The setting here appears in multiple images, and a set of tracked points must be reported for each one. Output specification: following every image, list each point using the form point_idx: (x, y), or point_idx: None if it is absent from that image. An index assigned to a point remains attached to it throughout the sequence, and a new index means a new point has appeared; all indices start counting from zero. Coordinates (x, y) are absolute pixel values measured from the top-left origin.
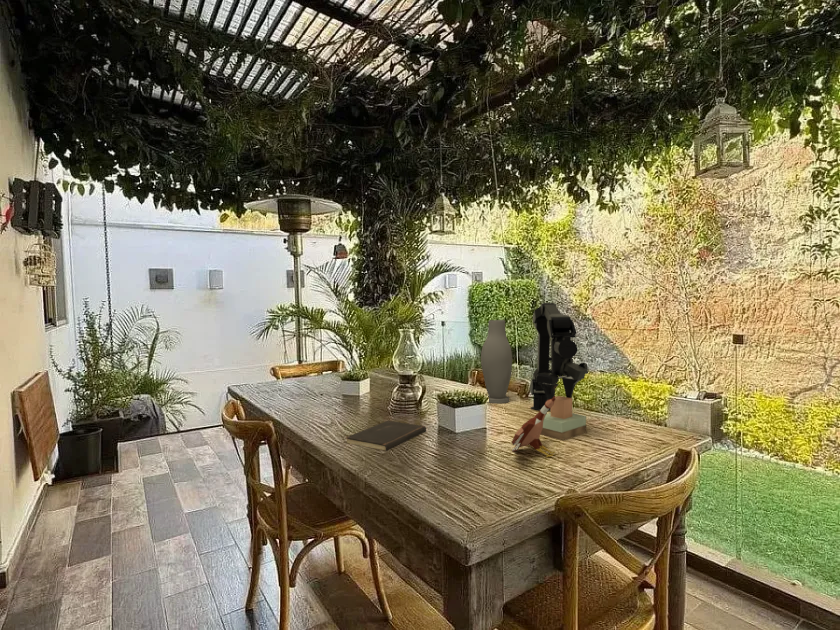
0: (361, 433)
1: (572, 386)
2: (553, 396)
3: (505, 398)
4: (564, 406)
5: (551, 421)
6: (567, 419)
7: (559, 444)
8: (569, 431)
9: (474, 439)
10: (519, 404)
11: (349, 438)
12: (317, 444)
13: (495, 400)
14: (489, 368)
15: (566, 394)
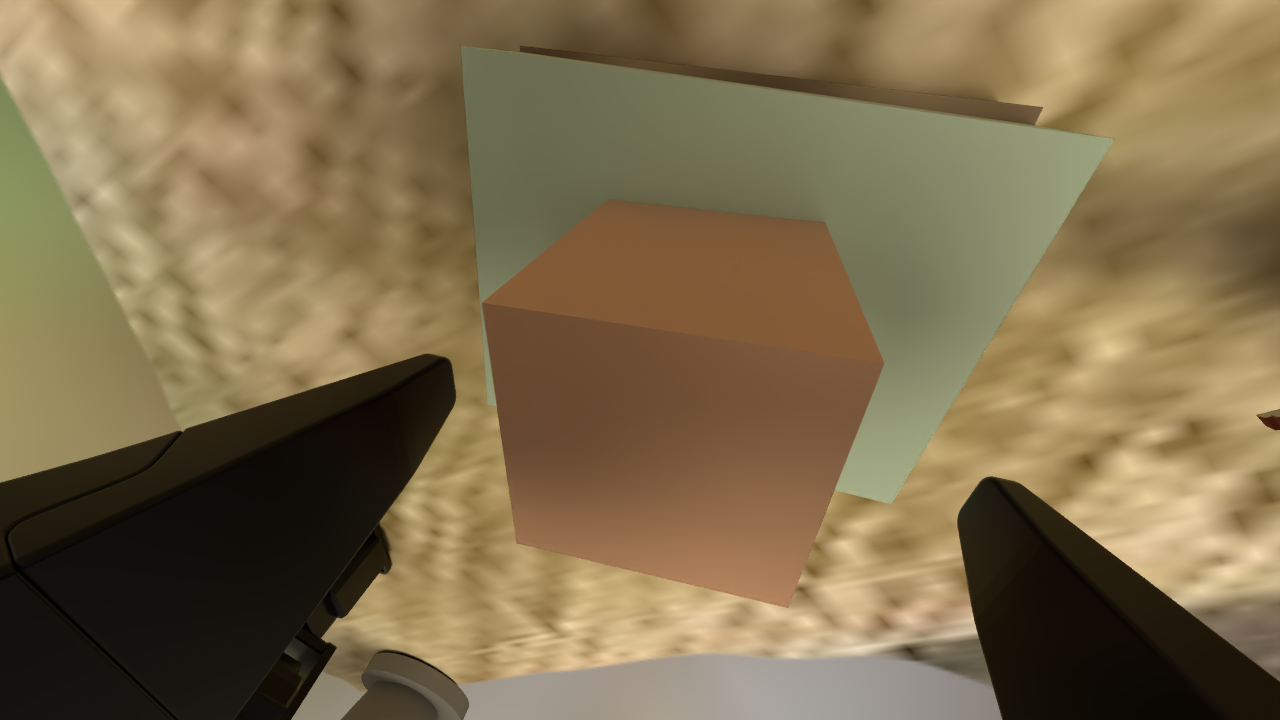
0: None
1: (99, 535)
2: (1232, 659)
3: (393, 678)
4: (836, 292)
5: (996, 320)
6: (817, 175)
7: (1200, 56)
8: (885, 89)
9: (1242, 651)
10: (378, 615)
11: None
12: None
13: (446, 696)
14: None
15: (402, 473)
